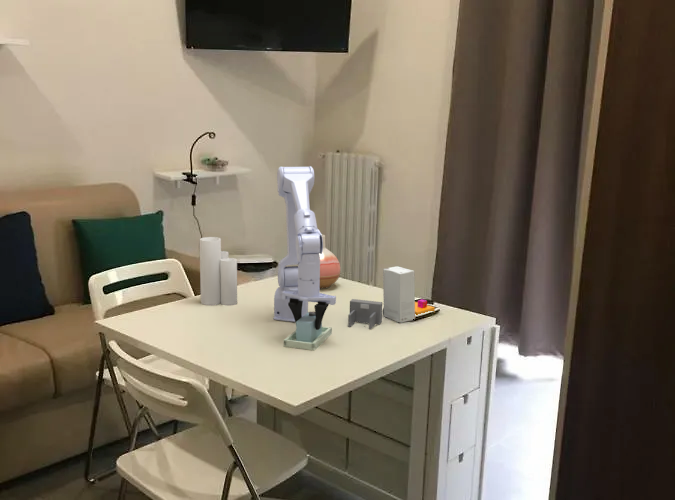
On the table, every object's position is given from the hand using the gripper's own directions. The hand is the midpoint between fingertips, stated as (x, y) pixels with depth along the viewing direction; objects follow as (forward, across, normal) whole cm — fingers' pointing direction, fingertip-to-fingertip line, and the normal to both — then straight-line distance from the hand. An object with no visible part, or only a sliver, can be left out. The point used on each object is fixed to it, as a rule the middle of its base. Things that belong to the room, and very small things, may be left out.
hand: (308, 327), depth 203 cm
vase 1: (+4, -38, +24) cm, 45 cm away
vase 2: (+4, -15, +52) cm, 55 cm away
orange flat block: (+4, +22, +35) cm, 42 cm away
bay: (+3, +10, +18) cm, 21 cm away
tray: (+3, 0, 0) cm, 3 cm away
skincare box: (+4, +18, +28) cm, 33 cm away
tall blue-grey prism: (+3, 0, +1) cm, 3 cm away
